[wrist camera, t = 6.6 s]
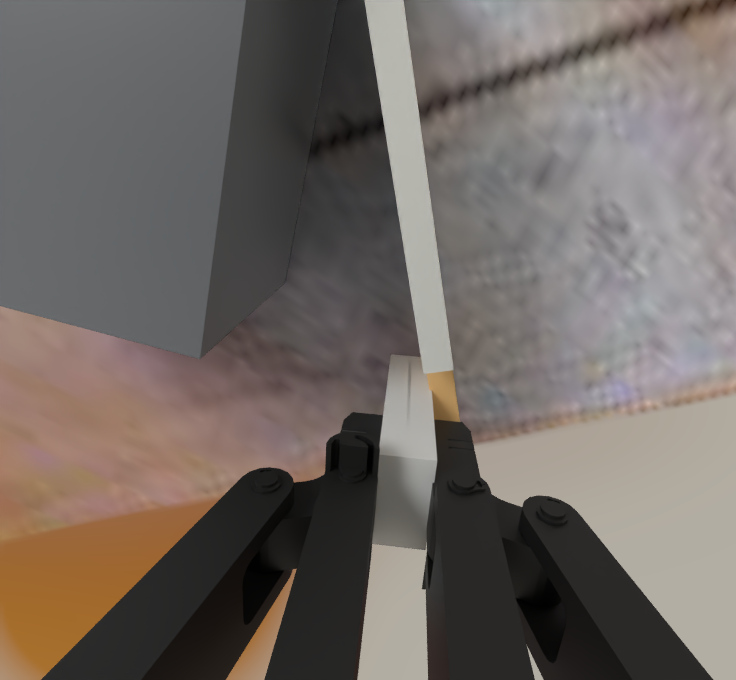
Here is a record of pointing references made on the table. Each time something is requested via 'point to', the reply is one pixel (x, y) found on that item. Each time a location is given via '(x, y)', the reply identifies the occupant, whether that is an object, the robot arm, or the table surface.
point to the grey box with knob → (154, 159)
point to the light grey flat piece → (413, 197)
